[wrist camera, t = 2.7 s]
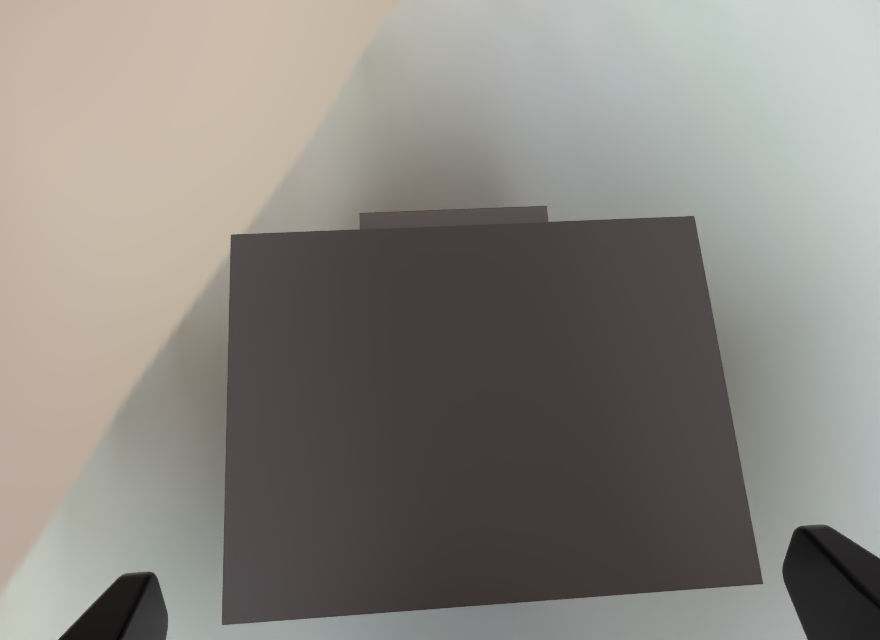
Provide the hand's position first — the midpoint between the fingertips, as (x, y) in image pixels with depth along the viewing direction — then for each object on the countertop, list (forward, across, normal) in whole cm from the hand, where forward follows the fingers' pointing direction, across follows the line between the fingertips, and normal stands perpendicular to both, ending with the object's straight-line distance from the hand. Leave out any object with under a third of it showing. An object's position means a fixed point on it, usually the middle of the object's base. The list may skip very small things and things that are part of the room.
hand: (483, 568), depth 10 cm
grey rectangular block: (+8, 0, +5) cm, 10 cm away
